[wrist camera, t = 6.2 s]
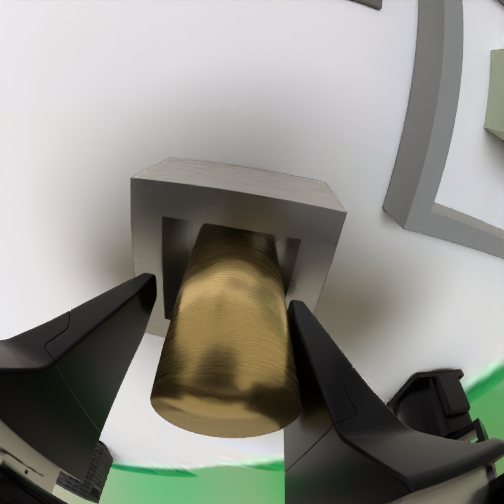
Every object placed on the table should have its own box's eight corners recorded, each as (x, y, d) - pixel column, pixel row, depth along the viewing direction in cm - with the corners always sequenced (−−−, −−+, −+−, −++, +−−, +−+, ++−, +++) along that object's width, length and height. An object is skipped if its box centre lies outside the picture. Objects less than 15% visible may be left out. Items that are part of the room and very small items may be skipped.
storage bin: (20, 408, 40) (2, 444, 29) (-8, 369, 31) (-35, 412, 19) (115, 461, 43) (101, 505, 31) (104, 439, 34) (83, 498, 22)
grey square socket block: (291, 307, 15) (294, 360, 12) (167, 284, 15) (141, 331, 11) (326, 182, 11) (346, 212, 8) (170, 157, 11) (130, 177, 8)
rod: (267, 282, 14) (281, 439, 7) (194, 273, 13) (159, 428, 6) (282, 215, 12) (323, 378, 5) (198, 204, 11) (138, 361, 5)
